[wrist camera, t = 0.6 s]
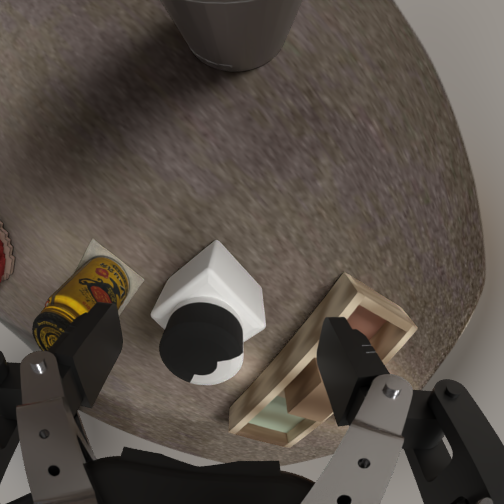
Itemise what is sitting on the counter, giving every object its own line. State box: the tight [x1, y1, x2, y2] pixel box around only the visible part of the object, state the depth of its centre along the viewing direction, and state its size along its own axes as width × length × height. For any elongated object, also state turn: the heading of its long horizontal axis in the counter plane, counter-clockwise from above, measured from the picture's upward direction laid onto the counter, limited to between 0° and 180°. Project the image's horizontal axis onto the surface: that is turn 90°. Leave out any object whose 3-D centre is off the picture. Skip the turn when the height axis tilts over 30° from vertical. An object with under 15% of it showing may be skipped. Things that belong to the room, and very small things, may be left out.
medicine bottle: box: [151, 240, 266, 385], centre depth 24 cm, size 7×7×12 cm
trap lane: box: [229, 272, 418, 448], centre depth 32 cm, size 25×10×4 cm, turn 149°
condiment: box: [32, 239, 144, 351], centre depth 24 cm, size 7×8×12 cm
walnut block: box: [284, 357, 333, 422], centre depth 30 cm, size 6×5×4 cm
